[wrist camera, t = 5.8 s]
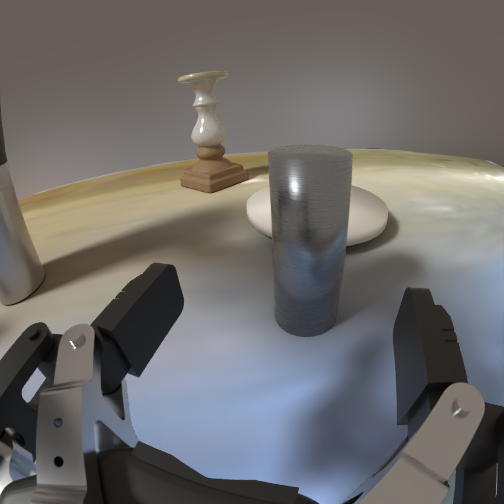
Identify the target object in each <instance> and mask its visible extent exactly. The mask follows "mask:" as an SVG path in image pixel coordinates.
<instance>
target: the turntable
mask: <svg viewBox="0 0 504 504" xmlns="http://www.w3.org/2000/svg"><path fill="white" fill-rule="evenodd" d="M247 217H248V220H249V222H250V224H251V225H252V226H253V227H254V228H255V229H256V230H258V231H259V232H260V233H262V234H264V235H266V236H268V237H271V238H272V223H271V202H270V186H269V187H266V188H263V189H261V190H259V191H257V192H256V193H254V194H253V195H252V196H251V197H250V198H249V199H248V201H247ZM387 218H388V208H387V206H386V204H385V203H384V202H383V201H382V200H381V199H380V198H379V197H377V196H376V195H374V194H373V193H371V192H369V191H366V190H364V189H361V188H359V187H355V186H352V185H351V197H350V211H349V223H348V233H347V243H346V246H350V245H355V244H359V243H363V242H366V241H369V240H371V239H373V238H375V237H377V236H378V235H380V234H381V233H382V232H383V231H384V229H385V227H386V224H387Z"/></svg>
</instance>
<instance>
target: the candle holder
mask: <svg viewBox="0 0 504 504" xmlns="http://www.w3.org/2000/svg"><path fill="white" fill-rule="evenodd" d="M227 76H228V72H225V71H212V72H202V73H195V74H190V75H185V76H182V77H179V78H178V82H179V83H189V84H190V86H191V88H192V89H193V90H194V91H195V93H196V100H195V102H194V104H193V106H194V107H195V108H196V110H197V112H198V114H199V117H198V120H197V123H196V125H195V127H194V129H193V132H192V136H191V137H192V141H193V142H194V143H195V144H196V145H198V146H199V148H198V150H197V152H196V155H197V157H198V158H200V161H199V162H197V163H196V164H195V166H194V167H192V168H190V169H187V170H185V171H184V176H182V177H181V178H180V181H181V186H184V187H187V188H191V189H195V190H198V191H202V192H206V193H213V192H216V191H218V190H221V189H224V188H226V187H229V186H232V185H234V184H237V183H240V182H243V181H245V180H248V171H246V170H244V169H243V166H242V165H241V164H236V163H231V162H230V161H229V160H227V159H226V158H224V157H222V156H223V155H224V153H225V149H224V147H223V146H222V145H221V142H222V141H224V139H225V138H226V131H225V128H224V127H223V125H222V124H221V123H220V122H219V120H218V119H217V117H216V116H215V108H216V104H218V101H217V100H216V99H215V97H214V95H213V90H214V87H215V86H216V84H217V80H218V79H221V78H225V77H227Z"/></svg>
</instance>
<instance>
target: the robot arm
mask: <svg viewBox="0 0 504 504" xmlns="http://www.w3.org/2000/svg"><path fill="white" fill-rule="evenodd" d="M44 277H45V271H44V269H43V266H42V264H41V262H40V260H39V257H38V255H37V253H36V250H35V248H34V245H33V243H32V240H31V237H30V235H29V232H28V229H27V227H26V224H25V221H24V218H23V215H22V212H21V209H20V206H19V203H18V200H17V197H16V193H15V189H14V186H13V183H12V179H11V175H10V171H9V167H8V162H7V157H6V152H5V144H4V135H3V129H2V121H1V108H0V302H1V303H2V304H4V305H10V304H14V303H17V302H19V301H21V300H23V299H24V298H26V297H27V296H29V295H30V294H31V293H33V292H34V291H35V290H36V289H37V288H38V286H39V285H40V284H41V283H42V281H43V279H44ZM183 306H184V297H183V294H182V290H181V286H180V283H179V279H178V275H177V272H176V269H175V267H174V266H173V265H170V264H162V263H153V264H151V265H150V266H149V267H148V268H147V269H146V270H145V271H144V273H143V274H141V275H139V276H138V277H136V278H135V279H133V280H131V281H130V282H129V283H128V284H127V285H126V286H125V287H124V288H123V289H122V292H120V293H119V294H118V295H117V296H116V297H115V299H113V300H112V301H111V302H110V303H109V305H108V306H107V307H106V308H105V309H104V310H103V311H102V312H101V313H100V315H99V316H98V317H97V318H96V319H95V320H94V321H93V322H92V324H91V325H88V324H78V325H75V326H73V327H71V328H70V329H68V330H67V331H66V332H65V333H64V334H63V335H61V334H52V333H51V332H50V330H49V328H48V327H47V325H46V324H45V323H42V322H39V323H35V324H33V325H31V326H29V327H28V328H27V329H26V330H25V331H24V332H23V333H22V334H21V336H20V337H19V338H18V339H17V340H16V342H15V343H14V344H13V345H12V346H11V348H10V349H9V350H8V351H7V353H6V354H5V355H4V356H3V358H2V359H1V360H0V504H319V503H317V502H316V501H314V500H312V499H310V498H308V497H306V496H304V495H301V494H298V490H299V487H291V486H285V485H278V484H273V483H267V482H262V481H257V480H229V479H212V478H207V477H205V476H203V475H201V474H200V473H198V472H197V471H195V470H193V469H192V468H190V467H189V466H187V465H186V464H184V463H183V462H181V461H180V460H178V459H177V458H175V457H174V456H173V455H171V454H168V453H166V452H163V451H161V450H158V449H156V448H154V447H151V446H149V445H147V444H145V443H142V442H140V441H139V440H138V437H137V435H136V433H135V432H134V430H133V427H132V424H131V417H130V410H129V402H128V393H127V384H126V380H125V379H124V377H125V376H126V374H127V373H129V374H131V375H134V376H136V377H140V375H141V374H142V372H143V370H144V369H145V367H146V366H147V364H148V363H149V361H150V360H151V358H152V357H153V355H154V353H155V352H156V350H157V349H158V347H159V346H160V344H161V343H162V341H163V340H164V338H165V337H166V335H167V334H168V332H169V331H170V329H171V328H172V326H173V325H174V323H175V322H176V320H177V319H178V317H179V316H180V314H181V312H182V310H183ZM393 345H394V356H395V370H396V390H397V425H408V434H407V435H406V436H405V438H404V439H403V440H402V442H401V443H400V444H399V445H398V446H397V448H396V449H395V450H394V451H393V452H392V454H391V455H390V456H389V457H388V458H387V459H386V460H385V462H384V463H383V464H382V465H381V466H380V467H379V468H378V469H377V470H376V471H375V472H374V473H373V475H372V476H371V477H370V478H369V479H368V480H367V481H365V482H364V483H363V484H362V485H361V486H360V487H359V488H358V489H356V490H355V491H354V492H353V493H352V494H351V495H350V496H349V497H347V498H346V499H345V500H344V501H343V502H342V503H341V504H441V502H442V501H443V499H444V498H445V496H446V495H447V493H448V490H449V484H448V479H449V477H450V476H451V474H452V473H453V471H454V469H455V468H456V481H455V492H454V501H453V504H504V407H502V406H498V405H493V404H489V403H486V402H484V400H483V397H482V395H481V393H480V392H479V391H478V390H477V389H476V388H475V387H474V386H472V385H470V384H468V380H467V376H466V371H465V367H464V363H463V359H462V355H461V351H460V347H459V344H458V342H457V337H456V333H455V332H454V327H453V324H452V320H451V317H450V316H449V314H448V313H447V312H446V311H445V309H444V308H443V307H442V306H441V305H435V304H434V301H433V298H432V295H431V292H430V290H429V289H425V288H409V287H408V288H406V290H405V293H404V296H403V299H402V303H401V306H400V309H399V312H398V315H397V318H396V321H395V325H394V330H393ZM37 367H38V369H39V370H40V371H41V372H42V374H43V375H44V376H45V377H46V379H45V381H44V382H43V384H42V385H41V386H40V388H39V389H38V391H37V392H36V394H35V395H34V397H33V398H32V400H31V401H30V402H28V403H27V402H26V401H25V400H24V399H23V397H22V388H23V386H24V385H25V384H26V382H27V381H28V379H29V378H30V377H31V375H32V374H33V373H34V371H35V370H36V368H37ZM35 460H36V464H35V463H34V462H35ZM497 463H498V473H497ZM30 475H31V476H30ZM496 480H497V494H496ZM495 497H496V498H495Z"/></svg>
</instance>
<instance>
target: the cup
mask: <svg viewBox="0 0 504 504" xmlns="http://www.w3.org/2000/svg"><path fill="white" fill-rule="evenodd" d="M352 156H353V155H352V153H351V152H349V151H347V150H345V149H341V148H337V147H331V146H324V145H290V146H283V147H278V148H274V149H272V150H270V151H269V152H268V165H269V183H270V202H271V223H272V246H273V272H274V302H275V319H276V321H277V323H278V325H279V326H280V327H281V328H282V329H283V330H285V331H286V332H288V333H290V334H293V335H296V336H302V337H310V336H316V335H320V334H322V333H324V332H326V331H328V330H329V329H330V328H331V327H332V326H333V324H334V323H335V320H336V315H337V309H338V303H339V297H340V290H341V283H342V276H343V268H344V260H345V252H346V243H347V233H348V223H349V211H350V197H351V180H352Z"/></svg>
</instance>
